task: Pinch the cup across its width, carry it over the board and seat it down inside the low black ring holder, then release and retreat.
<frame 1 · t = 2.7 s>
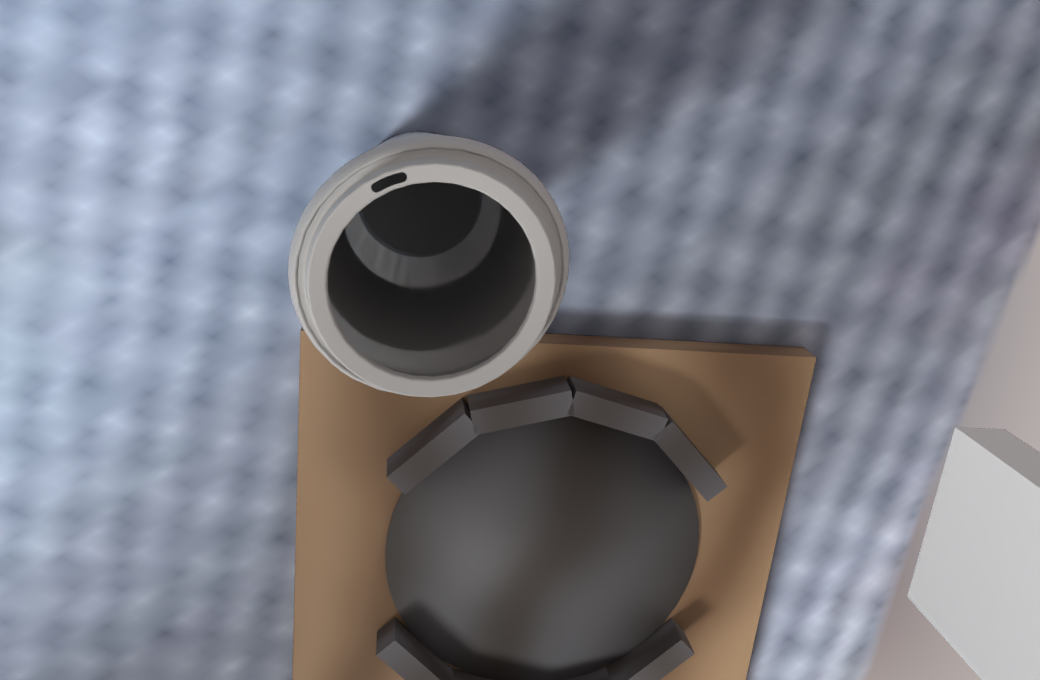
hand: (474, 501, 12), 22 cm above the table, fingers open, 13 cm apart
cup: (419, 195, 33), on the table
ring holder: (540, 534, 38), on the table
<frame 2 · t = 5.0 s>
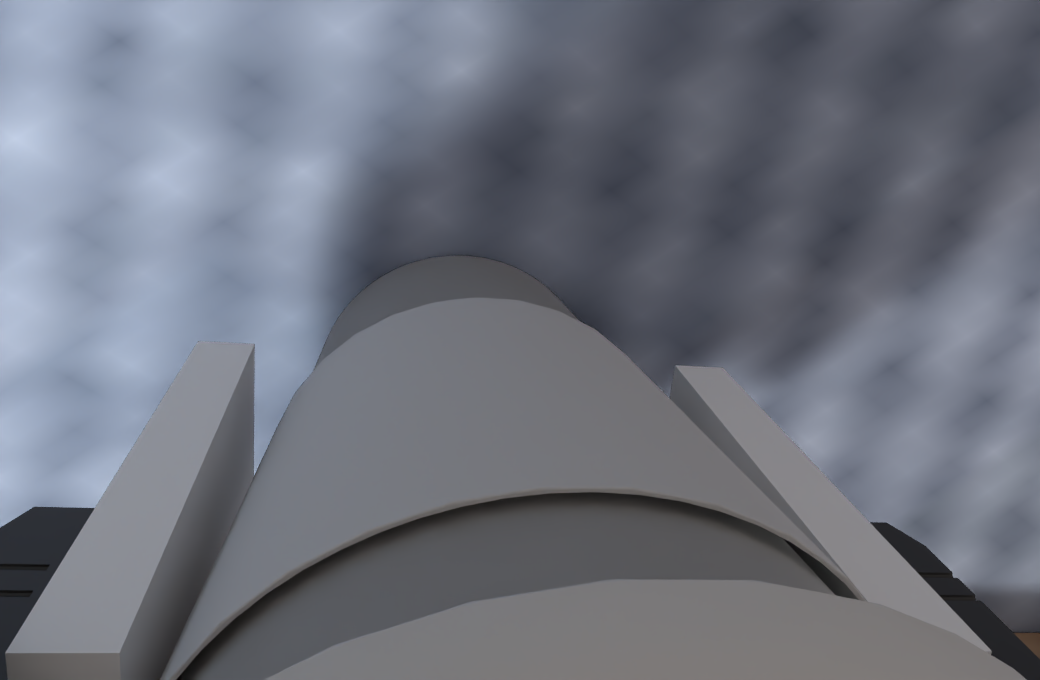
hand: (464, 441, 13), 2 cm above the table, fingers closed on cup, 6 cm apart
cup: (455, 382, 15), on the table, touching gripper
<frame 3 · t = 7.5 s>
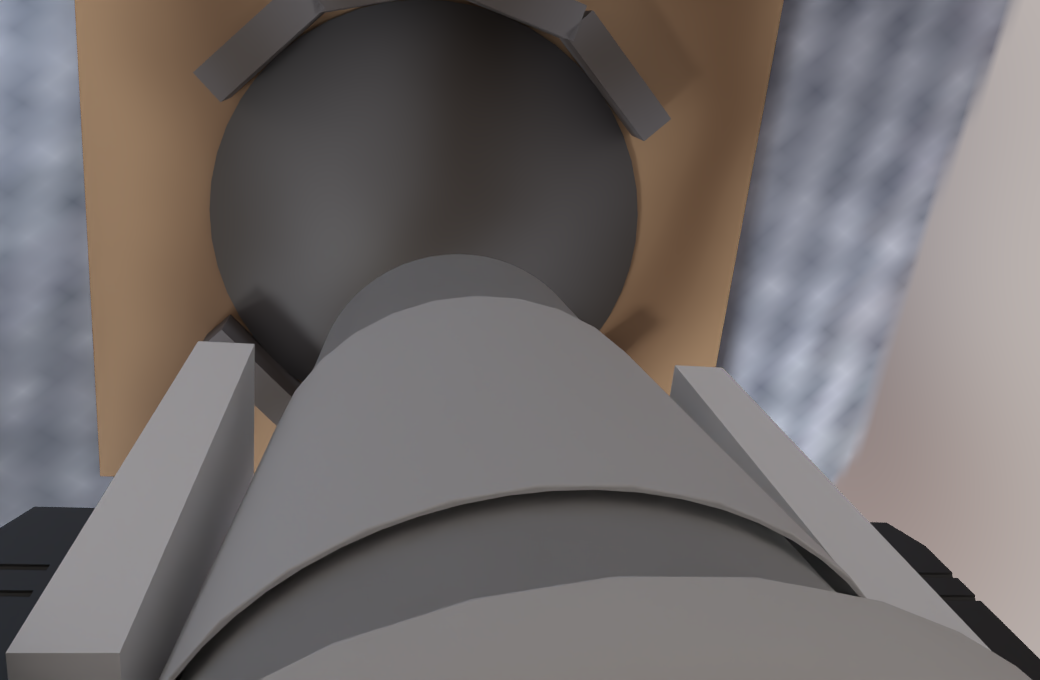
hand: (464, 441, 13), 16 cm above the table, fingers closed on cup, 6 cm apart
cup: (455, 381, 15), point 14 cm above the table, touching gripper
ring holder: (428, 217, 29), on the table
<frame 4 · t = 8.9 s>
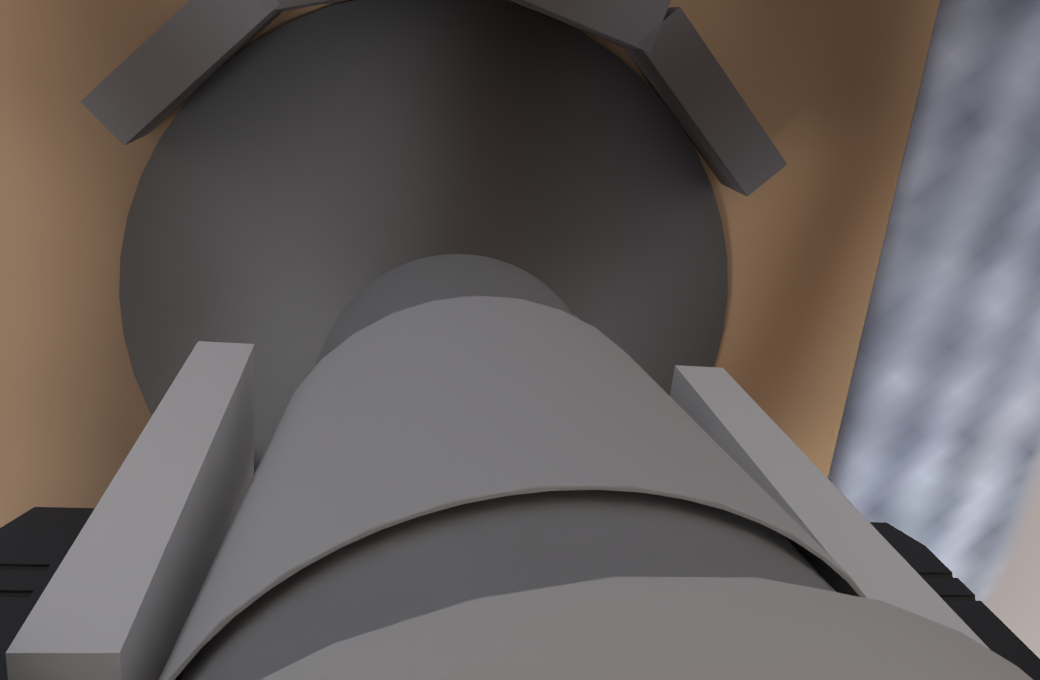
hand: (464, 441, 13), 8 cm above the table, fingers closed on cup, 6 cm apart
cup: (455, 381, 15), point 6 cm above the table, touching gripper
ring holder: (434, 296, 21), on the table
when the fingers open (4 cm above the table, at t = 10.0 s): cup stays where it is, resting on ring holder.
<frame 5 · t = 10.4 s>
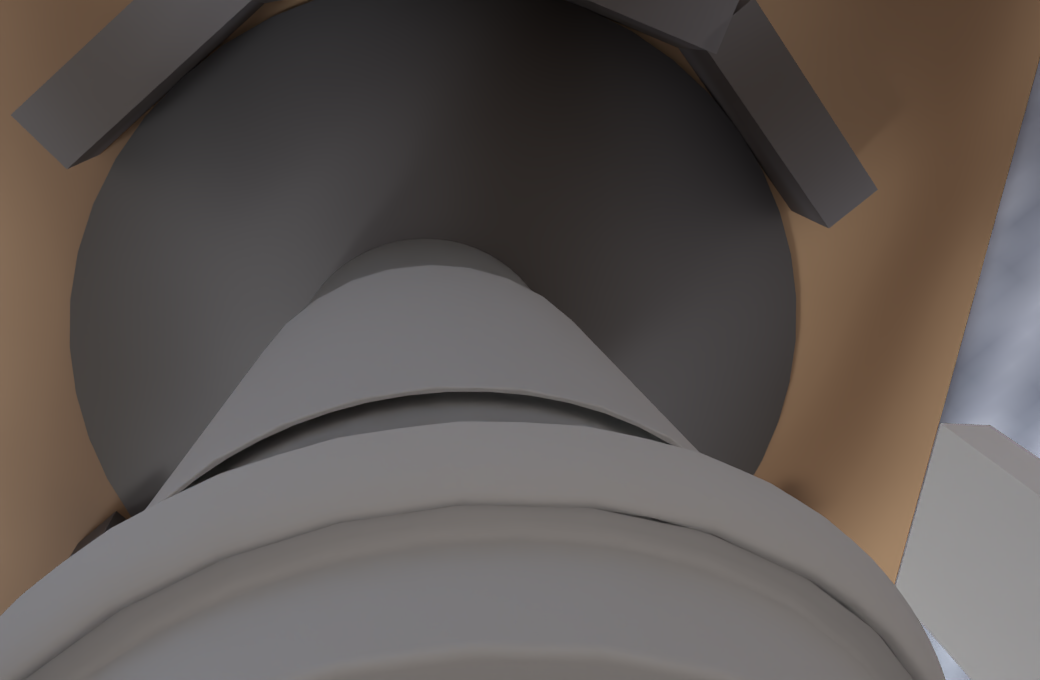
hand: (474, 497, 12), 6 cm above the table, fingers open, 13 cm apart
cup: (426, 361, 16), point 1 cm above the table, touching ring holder
ring holder: (447, 340, 17), on the table
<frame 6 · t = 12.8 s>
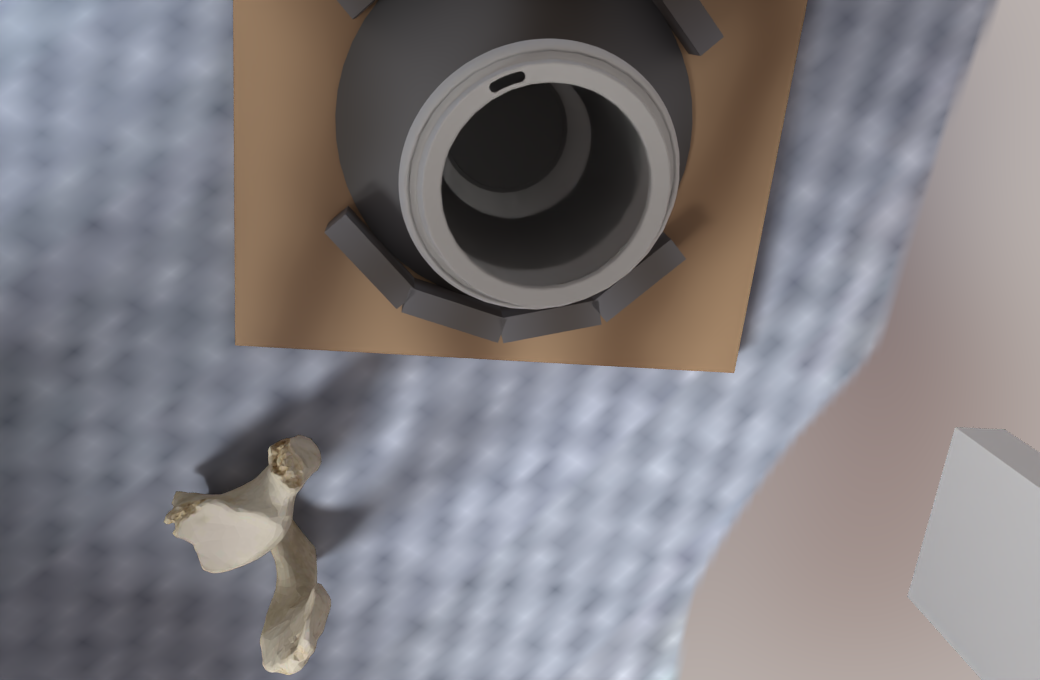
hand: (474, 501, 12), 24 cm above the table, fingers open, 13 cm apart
cup: (504, 128, 32), point 1 cm above the table, touching ring holder
bone: (265, 487, 38), on the table
ring holder: (513, 126, 34), on the table
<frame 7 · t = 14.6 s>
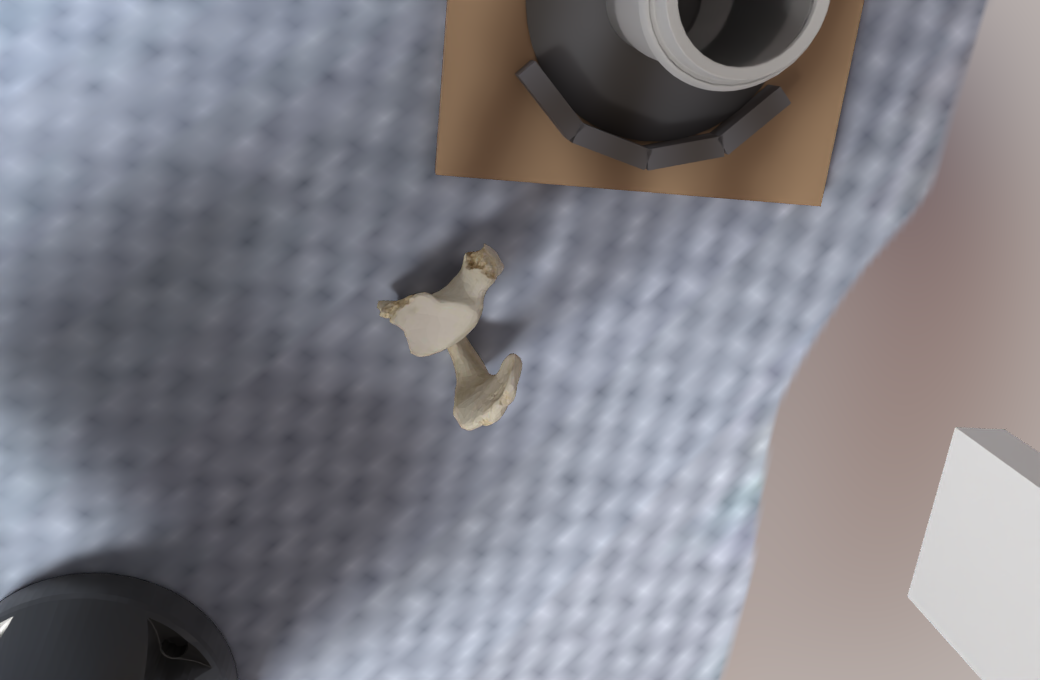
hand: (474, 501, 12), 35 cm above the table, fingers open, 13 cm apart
bone: (442, 304, 47), on the table
ring holder: (655, 1, 43), on the table
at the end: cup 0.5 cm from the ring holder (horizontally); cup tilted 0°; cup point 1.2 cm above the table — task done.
